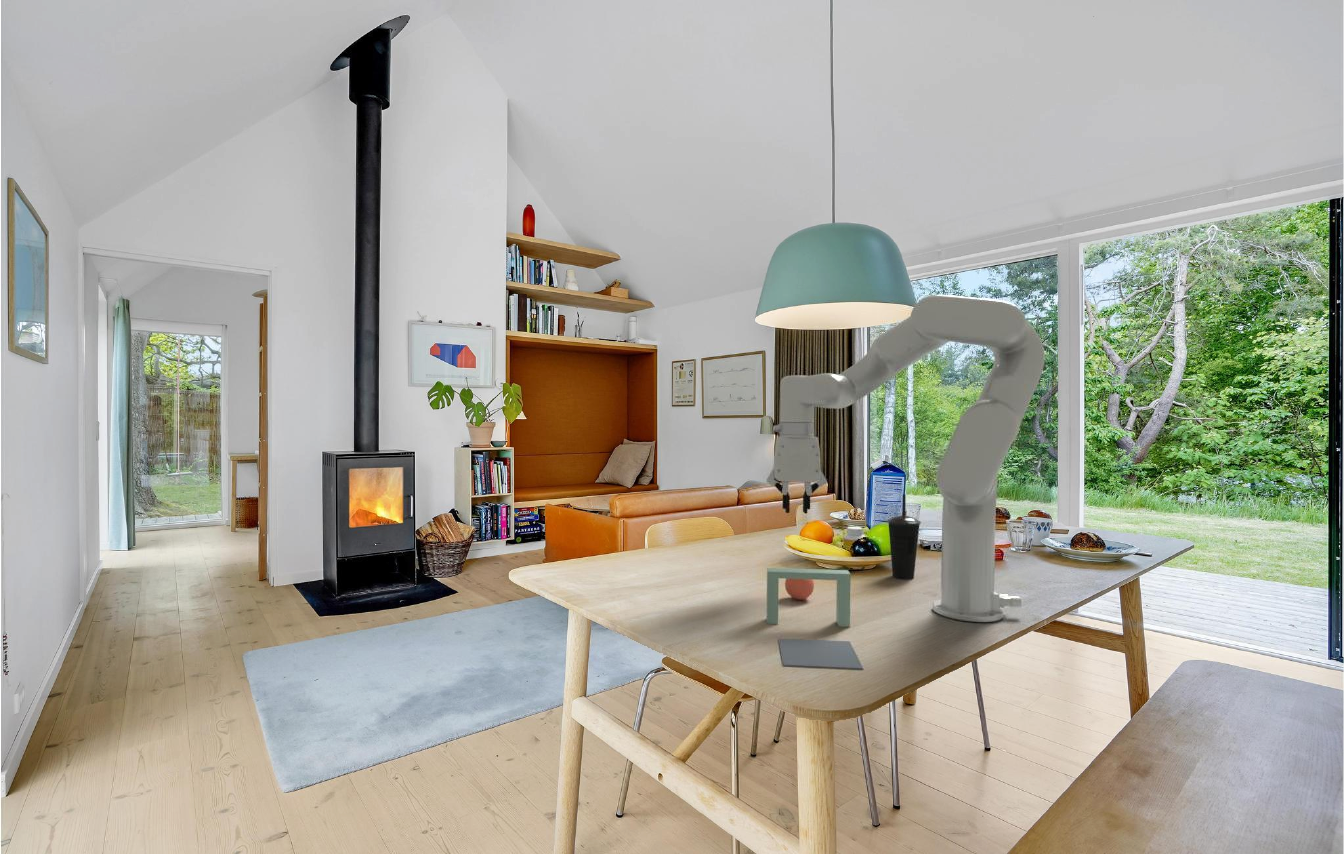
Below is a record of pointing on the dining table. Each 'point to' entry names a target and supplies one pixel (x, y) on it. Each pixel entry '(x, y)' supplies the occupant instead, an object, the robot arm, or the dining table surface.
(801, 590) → the ball
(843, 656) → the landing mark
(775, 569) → the bridge
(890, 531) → the drinking cup
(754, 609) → the dining table surface
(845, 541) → the supplement bottle
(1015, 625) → the dining table surface
